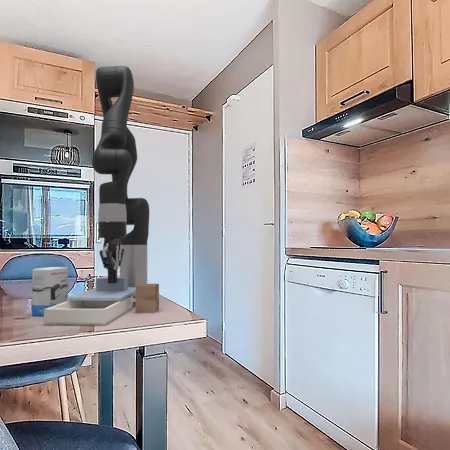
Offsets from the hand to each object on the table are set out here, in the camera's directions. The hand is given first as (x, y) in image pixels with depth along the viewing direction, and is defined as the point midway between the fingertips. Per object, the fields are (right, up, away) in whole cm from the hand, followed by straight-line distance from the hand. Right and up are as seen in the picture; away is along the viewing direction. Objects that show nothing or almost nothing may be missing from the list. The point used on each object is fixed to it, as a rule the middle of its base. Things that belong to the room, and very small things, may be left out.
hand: (112, 283), depth 103 cm
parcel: (+10, -7, -4) cm, 13 cm away
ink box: (-15, -7, -5) cm, 17 cm away
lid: (-1, -3, +1) cm, 4 cm away
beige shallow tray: (-2, -7, -10) cm, 12 cm away
